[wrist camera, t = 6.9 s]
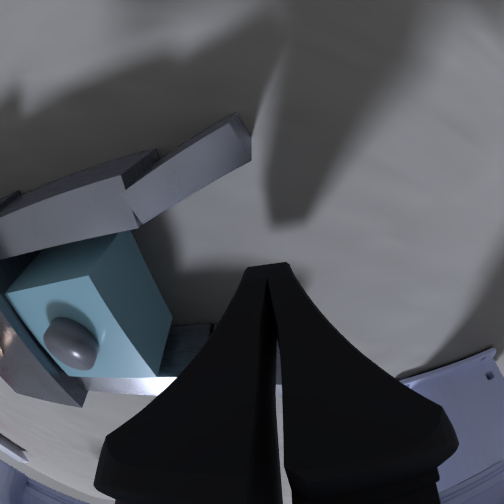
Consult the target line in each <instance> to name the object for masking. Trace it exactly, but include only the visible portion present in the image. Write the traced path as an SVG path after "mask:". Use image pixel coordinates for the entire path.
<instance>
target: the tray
mask: <svg viewBox="0 0 504 504" xmlns="http://www.w3.org/2000/svg"><path fill="white" fill-rule="evenodd" d="M0 450H2V451H3V452H5V453H6V454H8V455H9V456H11V457H12V458H14V459H15V460H17V461H19V462H24V463H29V460H28V459H27V457H26V456H25V455H24V453H23V452H22V451H21V449H20V448H19V447H17V446H16V445H14V444H13V443H11V442H10V441H8V440H7V439H5V438H4V437H3V436H1V435H0Z"/></svg>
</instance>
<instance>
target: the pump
mask: <svg viewBox="0 0 504 504" xmlns="http://www.w3.org/2000/svg"><path fill="white" fill-rule="evenodd" d="M5 296H6V298H7V299H8V301H9V302H10V304H11V305H12V306H13V308H14V309H15V311H16V312H17V314H18V315H19V316H20V318H21V319H22V321H23V322H24V323H25V325H26V326H27V327H28V329H29V330H30V331H31V333H32V334H33V335H34V336H35V338H36V339H37V340H38V341H39V343H40V344H41V345H42V346H43V347H44V349H45V350H46V351H47V352H48V353H49V355H50V356H51V357H52V358H53V359H54V360H55V362H56V363H57V364H58V365H59V366H60V367H61V368H62V369H63V370H64V371H65V373H66V374H67V375H68V376H75V377H97V378H156V377H157V376H158V372H159V368H160V364H161V360H162V356H163V352H164V348H165V345H166V341H167V337H168V333H169V330H170V326H171V322H172V319H173V316H172V314H171V312H170V311H169V309H168V307H167V305H166V303H165V301H164V299H163V297H162V295H161V293H160V291H159V289H158V287H157V285H156V283H155V281H154V279H153V277H152V275H151V273H150V271H149V269H148V267H147V265H146V263H145V261H144V258H143V256H142V254H141V252H140V250H139V248H138V245H137V243H136V241H135V239H134V237H133V234H132V232H131V230H127V231H122V232H118V233H113V234H108V235H103V236H98V237H94V238H89V239H84V240H80V241H75V242H71V243H67V244H62V245H58V246H54V247H49V248H45V249H43V250H42V251H41V252H40V253H39V254H38V255H37V256H36V257H35V258H34V260H33V261H32V262H31V263H30V264H29V265H28V266H27V267H26V269H25V270H24V271H23V272H22V273H21V274H20V275H19V277H18V278H17V279H16V280H15V281H14V283H13V284H12V285H11V286H10V287H9V289H8V290H7V291H6V292H5Z"/></svg>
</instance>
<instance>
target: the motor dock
mask: <svg viewBox="0 0 504 504" xmlns="http://www.w3.org/2000/svg"><path fill="white" fill-rule="evenodd" d="M251 160H252V154H251V137H250V135H249V133H248V132H247V130H246V128H245V127H244V125H243V123H242V122H241V120H240V119H239V117H238V115H237V114H236V112H235V113H234V114H232V115H230V116H228V117H227V118H225V119H223V120H221V121H220V122H218V123H216V124H214V125H213V126H211V127H209V128H208V129H206V130H204V131H203V132H201V133H199V134H198V135H196V136H195V137H193V138H191V139H190V140H188V141H187V142H185V143H183V144H182V145H180V146H179V147H177V148H176V149H174V150H173V151H171V152H170V153H168V154H167V155H165V156H164V157H162V158H161V159H159V158H158V154H157V151H156V149H152V150H148V151H144V152H141V153H137V154H134V155H130V156H127V157H123V158H120V159H117V160H114V161H110V162H107V163H104V164H101V165H98V166H95V167H92V168H89V169H86V170H83V171H81V172H78V173H75V174H72V175H70V176H67V177H64V178H62V179H59V180H56V181H54V182H51V183H49V184H46V185H44V186H41V187H39V188H37V189H34V190H32V191H30V192H27V193H25V194H23V195H20V192H19V191H16V192H14V193H12V194H10V195H8V196H6V197H4V198H2V199H0V376H1V377H2V378H3V379H4V380H5V381H6V383H7V384H8V385H9V386H10V387H11V388H12V389H13V390H14V391H15V392H16V393H19V394H22V395H26V396H30V397H33V398H37V399H42V400H46V401H50V402H55V403H59V404H64V405H69V406H75V407H80V408H82V407H83V404H84V401H85V398H86V395H87V393H88V390H90V391H99V392H109V393H121V394H137V395H159V394H160V393H161V392H163V391H164V390H165V389H166V388H167V387H168V386H169V385H170V384H171V383H172V382H173V381H174V380H175V379H176V378H177V377H178V376H179V374H180V373H181V372H182V371H183V370H184V369H185V368H186V366H187V365H188V364H189V363H190V362H191V361H192V359H193V358H194V357H195V356H196V354H197V353H198V352H199V351H200V349H201V348H202V347H203V345H204V344H205V343H206V341H207V340H208V338H209V337H210V336H211V334H212V333H213V331H214V330H213V329H212V326H211V323H206V324H195V325H183V326H170V330H169V333H168V337H167V341H166V345H165V348H164V352H163V356H162V360H161V364H160V368H159V372H158V376H157V377H156V378H97V377H75V376H68V375H67V374H66V373H65V371H64V370H63V369H62V368H61V367H60V366H59V365H58V364H57V363H56V362H55V360H54V359H53V358H52V357H51V356H50V355H49V353H48V352H47V351H46V350H45V349H44V347H43V346H42V345H41V344H40V343H39V341H38V340H37V339H36V338H35V336H34V335H33V334H32V333H31V331H30V330H29V329H28V327H27V326H26V325H25V323H24V322H23V321H22V319H21V318H20V316H19V315H18V314H17V312H16V311H15V309H14V308H13V306H12V305H11V304H10V302H9V301H8V299H7V298H6V296H5V292H6V291H7V290H8V289H9V287H10V286H11V285H12V284H13V283H14V281H15V280H16V279H17V278H18V277H19V275H20V274H21V273H22V272H23V271H24V270H25V269H26V267H27V266H28V265H29V264H30V263H31V262H32V261H33V260H34V258H35V257H36V256H37V255H38V254H39V253H40V252H41V251H42V250H43V249H45V248H49V247H54V246H58V245H62V244H67V243H71V242H75V241H80V240H84V239H89V238H94V237H98V236H103V235H108V234H113V233H118V232H122V231H127V230H132V229H137V228H139V227H140V225H141V224H144V223H146V222H148V221H149V220H151V219H152V218H154V217H155V216H157V215H159V214H160V213H162V212H163V211H165V210H167V209H168V208H170V207H171V206H173V205H175V204H176V203H178V202H180V201H181V200H183V199H185V198H186V197H188V196H190V195H191V194H193V193H195V192H196V191H198V190H200V189H201V188H203V187H205V186H206V185H208V184H210V183H212V182H213V181H215V180H217V179H219V178H220V177H222V176H224V175H226V174H228V173H229V172H231V171H233V170H235V169H237V168H238V167H240V166H242V165H244V164H246V163H248V162H250V161H251ZM217 325H218V324H214V329H215V328H216V326H217ZM281 396H282V380H281V362H280V351H279V346H278V341H277V363H276V397H281Z"/></svg>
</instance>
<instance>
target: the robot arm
mask: <svg viewBox="0 0 504 504" xmlns="http://www.w3.org/2000/svg"><path fill="white" fill-rule="evenodd" d="M277 341H278V346H279V351H280V362H281V380H282V402H283V435H284V468H285V471H286V474H287V477H288V481H289V484H290V487H291V490H292V504H504V377H503V375H502V374H501V372H500V370H499V368H498V366H497V364H496V363H495V361H494V359H493V357H494V356H495V354H496V349H495V348H491V349H488V350H486V351H484V352H481V353H479V354H476V355H474V356H471V357H469V358H466V359H464V360H461V361H458V362H456V363H453V364H450V365H447V366H444V367H441V368H439V369H435V370H432V371H429V372H426V373H423V374H420V375H416V376H413V377H410V378H406V379H403V380H399V381H398V380H397V379H395V378H394V377H392V376H391V375H389V374H388V373H387V372H385V371H384V370H383V369H382V368H380V367H379V366H378V365H376V364H375V363H374V362H372V361H371V360H370V359H369V358H367V357H366V356H365V355H363V354H362V353H361V352H360V351H359V350H358V349H357V348H355V347H354V346H353V345H352V344H351V343H350V342H349V341H348V340H347V339H346V338H345V337H344V336H343V335H341V334H340V333H339V332H338V331H337V329H336V328H335V327H334V326H333V325H332V324H331V323H330V322H329V321H328V320H327V319H326V317H325V316H324V315H323V314H322V313H321V312H320V311H319V309H318V308H317V307H316V306H315V304H314V303H313V302H312V300H311V299H310V298H309V296H308V295H307V294H306V292H305V291H304V289H303V288H302V287H301V285H300V283H299V282H298V280H297V279H296V277H295V275H294V273H293V271H292V269H291V267H290V265H289V264H288V263H287V262H282V263H275V264H268V265H260V266H253V267H248V268H247V269H246V270H245V272H244V275H243V277H242V280H241V282H240V284H239V286H238V288H237V290H236V293H235V295H234V297H233V298H232V300H231V302H230V304H229V306H228V308H227V310H226V311H225V313H224V315H223V317H222V318H221V320H220V321H219V323H218V325H217V326H216V328H215V329H214V331H213V333H212V334H211V336H210V337H209V338H208V340H207V341H206V343H205V344H204V345H203V347H202V348H201V349H200V351H199V352H198V353H197V354H196V356H195V357H194V358H193V359H192V361H191V362H190V363H189V364H188V365H187V366H186V368H185V369H184V370H183V371H182V372H181V373H180V374H179V376H178V377H177V378H176V379H175V380H174V381H173V382H172V383H171V384H170V385H169V386H168V387H167V388H166V389H165V390H164V391H163V392H161V393H160V394H159V395H158V396H157V397H156V398H155V399H154V400H153V401H152V402H151V403H149V404H148V405H147V406H146V407H145V408H144V409H143V410H141V411H140V412H139V413H138V414H136V415H135V416H134V417H132V418H131V419H130V420H128V421H127V422H125V423H124V424H123V425H121V426H120V427H119V428H117V429H116V430H114V431H113V432H111V433H110V434H108V435H107V436H106V438H105V441H104V444H103V447H102V450H101V454H100V458H99V462H98V466H97V471H96V475H95V480H94V487H95V488H96V489H97V490H98V491H99V492H101V493H103V494H105V495H107V496H110V497H112V498H114V499H116V500H119V501H121V502H124V503H126V504H283V500H282V487H281V474H280V461H279V447H278V433H277V418H276V363H277ZM0 504H89V503H86V502H83V501H80V500H78V499H75V498H73V497H70V496H68V495H65V494H63V493H61V492H58V491H56V490H54V489H51V488H49V487H47V486H45V485H43V484H41V483H38V482H36V481H35V480H33V479H31V478H29V477H27V476H26V475H25V474H23V473H21V472H20V471H18V470H17V469H15V468H13V467H12V466H10V465H8V464H7V463H5V462H3V461H2V460H0Z"/></svg>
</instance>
